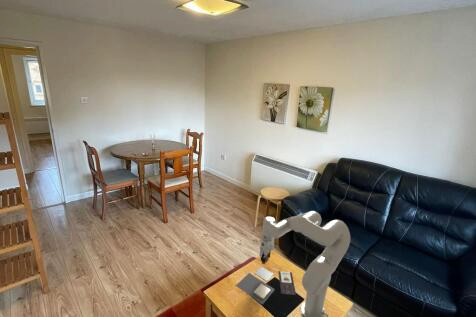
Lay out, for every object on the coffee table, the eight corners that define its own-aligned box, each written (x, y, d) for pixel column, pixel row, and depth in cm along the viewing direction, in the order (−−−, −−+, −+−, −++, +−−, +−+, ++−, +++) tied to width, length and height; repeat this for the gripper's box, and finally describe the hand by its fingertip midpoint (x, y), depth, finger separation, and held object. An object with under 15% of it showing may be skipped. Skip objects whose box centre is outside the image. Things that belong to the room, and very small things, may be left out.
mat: (274, 289, 149) (274, 289, 149) (262, 305, 139) (262, 304, 139) (249, 273, 161) (249, 272, 161) (235, 286, 151) (235, 285, 151)
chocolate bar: (281, 293, 146) (278, 271, 163) (281, 294, 147) (278, 272, 164) (296, 295, 146) (291, 272, 163) (295, 296, 146) (291, 273, 163)
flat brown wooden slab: (268, 260, 159) (269, 248, 156) (263, 264, 155) (265, 252, 152) (265, 258, 160) (267, 246, 157) (261, 263, 157) (262, 250, 153)
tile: (261, 285, 152) (270, 291, 148) (253, 293, 146) (263, 299, 142) (261, 283, 151) (270, 289, 147) (253, 291, 145) (263, 298, 141)
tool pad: (273, 274, 161) (273, 274, 161) (267, 281, 155) (267, 281, 155) (261, 267, 167) (261, 266, 167) (254, 273, 161) (254, 273, 161)
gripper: (265, 245, 143) (262, 269, 149) (279, 232, 155) (276, 255, 161) (255, 239, 147) (252, 263, 153) (270, 227, 160) (267, 249, 166)
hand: (265, 258), depth 157 cm, fingers closed on flat brown wooden slab, 5 cm apart
